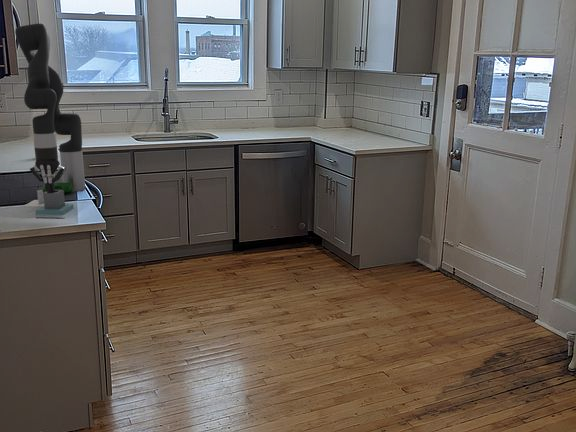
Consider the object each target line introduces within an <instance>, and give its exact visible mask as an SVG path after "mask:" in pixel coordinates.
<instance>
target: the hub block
mask: <svg viewBox="0 0 576 432" xmlns="http://www.w3.org/2000/svg"><path fill="white" fill-rule="evenodd" d="M74 208H75V207H74V203H65V206H63V207H62V208H60V209H45V207H44V206H42V207H39V208H37V209H36V210H35V215H41V216H37V217H35V218H36V219H46V220H47V219H49V220H50V219H51V220H52V219H53V220H55V219H57V220H59V219H60V220H63V219H65V217H48V216H51V215H52V216H53V215H54V216H64V215H65V214H67V213H68V212H70V211H72V210H73V209H74ZM42 215H43V216H44V217H43V216H42ZM45 215H46V216H47V217H46V216H45Z"/></svg>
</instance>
